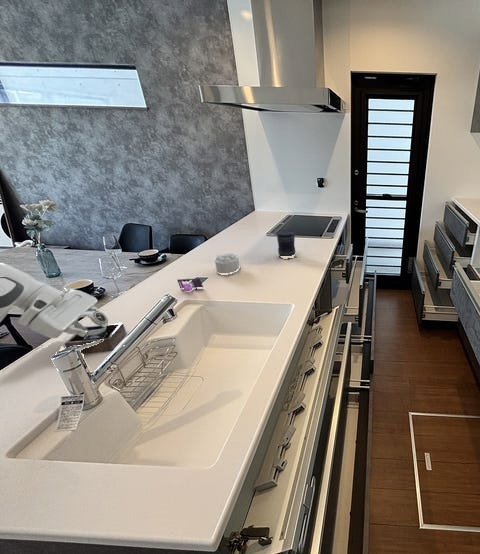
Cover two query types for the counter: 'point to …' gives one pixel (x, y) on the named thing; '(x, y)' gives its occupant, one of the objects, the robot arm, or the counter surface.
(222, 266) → the lumpy-topped squat cylinder
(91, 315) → the watch
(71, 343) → the box
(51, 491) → the counter surface
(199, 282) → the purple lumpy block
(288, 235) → the storage jar
